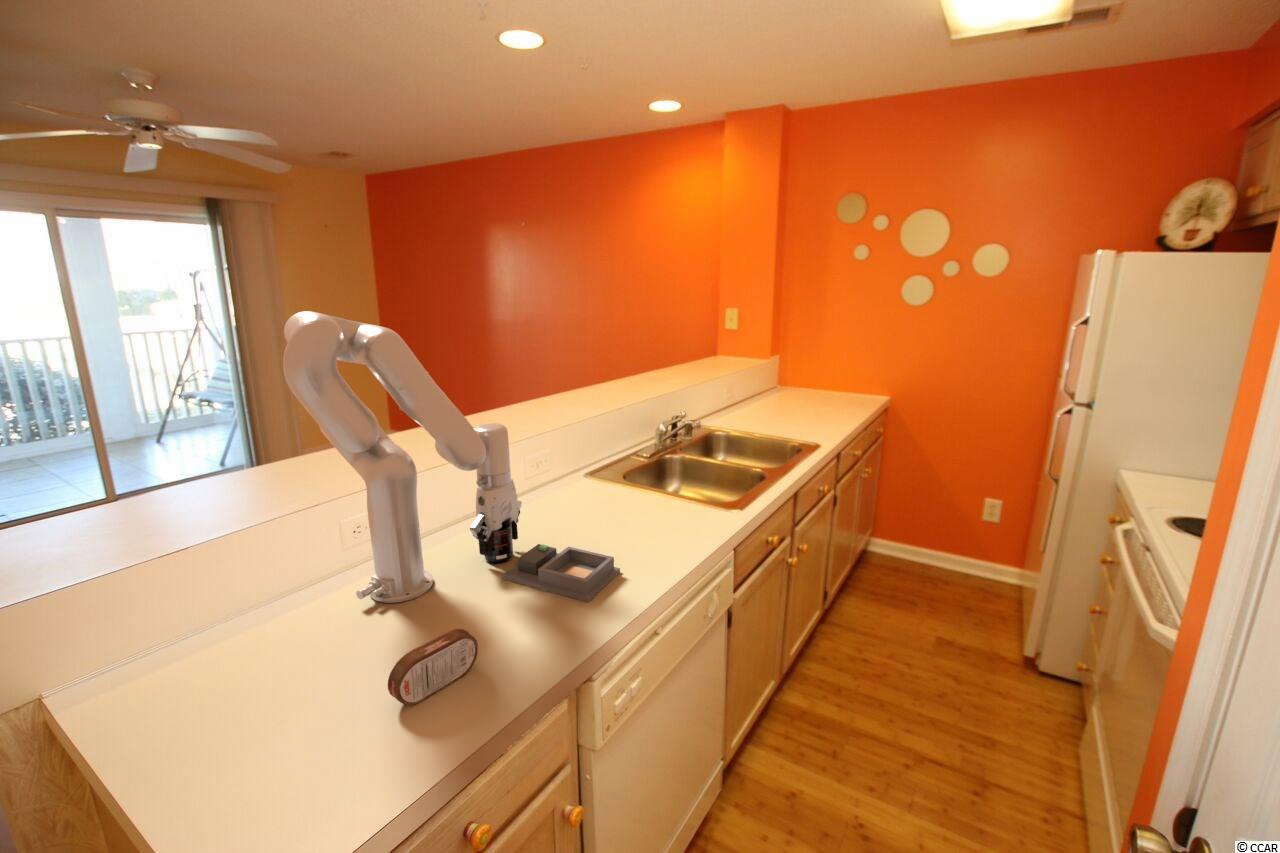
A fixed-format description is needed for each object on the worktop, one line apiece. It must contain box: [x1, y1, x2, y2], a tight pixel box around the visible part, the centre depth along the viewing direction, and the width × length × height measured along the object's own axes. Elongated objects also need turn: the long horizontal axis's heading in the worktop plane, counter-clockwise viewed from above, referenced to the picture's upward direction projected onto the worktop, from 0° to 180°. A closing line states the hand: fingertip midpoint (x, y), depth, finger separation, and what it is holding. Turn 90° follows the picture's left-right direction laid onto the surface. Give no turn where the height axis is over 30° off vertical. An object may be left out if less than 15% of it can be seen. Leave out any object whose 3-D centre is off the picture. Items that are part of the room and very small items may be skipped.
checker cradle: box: [501, 543, 621, 603], centre depth 129 cm, size 14×22×5 cm, turn 64°
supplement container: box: [483, 517, 514, 565], centre depth 137 cm, size 7×7×10 cm
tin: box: [387, 628, 479, 706], centre depth 94 cm, size 15×3×8 cm, turn 141°
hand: (499, 546), depth 137 cm, fingers open, 9 cm apart
